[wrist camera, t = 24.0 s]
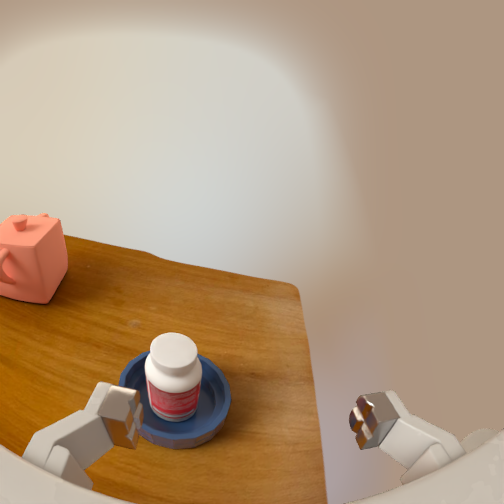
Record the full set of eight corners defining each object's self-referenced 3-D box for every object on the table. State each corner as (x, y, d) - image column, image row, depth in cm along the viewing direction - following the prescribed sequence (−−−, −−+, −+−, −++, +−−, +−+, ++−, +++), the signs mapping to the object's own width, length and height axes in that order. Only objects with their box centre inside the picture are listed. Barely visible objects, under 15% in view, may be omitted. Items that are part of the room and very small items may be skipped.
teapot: (78, 258, 51) (74, 198, 45) (41, 326, 32) (20, 251, 26) (13, 250, 46) (5, 195, 39) (-32, 306, 27) (-54, 240, 21)
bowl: (221, 368, 37) (225, 351, 35) (231, 452, 25) (237, 441, 23) (130, 359, 34) (127, 341, 32) (118, 443, 22) (111, 430, 20)
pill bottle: (206, 414, 29) (216, 363, 24) (161, 429, 25) (155, 381, 20) (184, 378, 33) (189, 321, 28) (142, 390, 30) (135, 333, 25)
